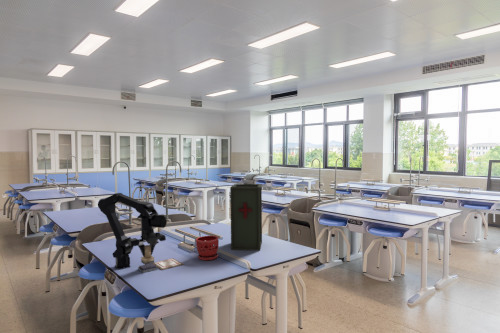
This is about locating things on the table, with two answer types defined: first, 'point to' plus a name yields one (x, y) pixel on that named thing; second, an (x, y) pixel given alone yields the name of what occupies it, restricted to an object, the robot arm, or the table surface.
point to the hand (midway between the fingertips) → (147, 255)
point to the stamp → (147, 255)
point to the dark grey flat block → (147, 267)
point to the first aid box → (246, 216)
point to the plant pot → (207, 247)
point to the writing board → (167, 263)
